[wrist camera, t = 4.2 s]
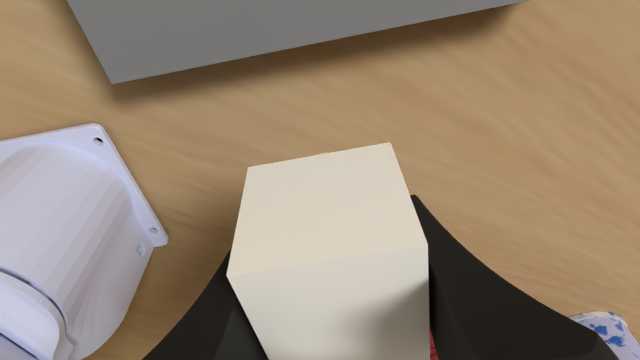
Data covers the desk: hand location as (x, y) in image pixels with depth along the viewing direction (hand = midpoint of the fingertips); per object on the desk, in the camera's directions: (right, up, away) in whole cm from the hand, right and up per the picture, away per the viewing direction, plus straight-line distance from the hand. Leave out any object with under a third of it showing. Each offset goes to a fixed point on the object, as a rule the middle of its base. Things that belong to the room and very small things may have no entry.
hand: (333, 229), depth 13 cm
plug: (0, +2, +2) cm, 3 cm away
